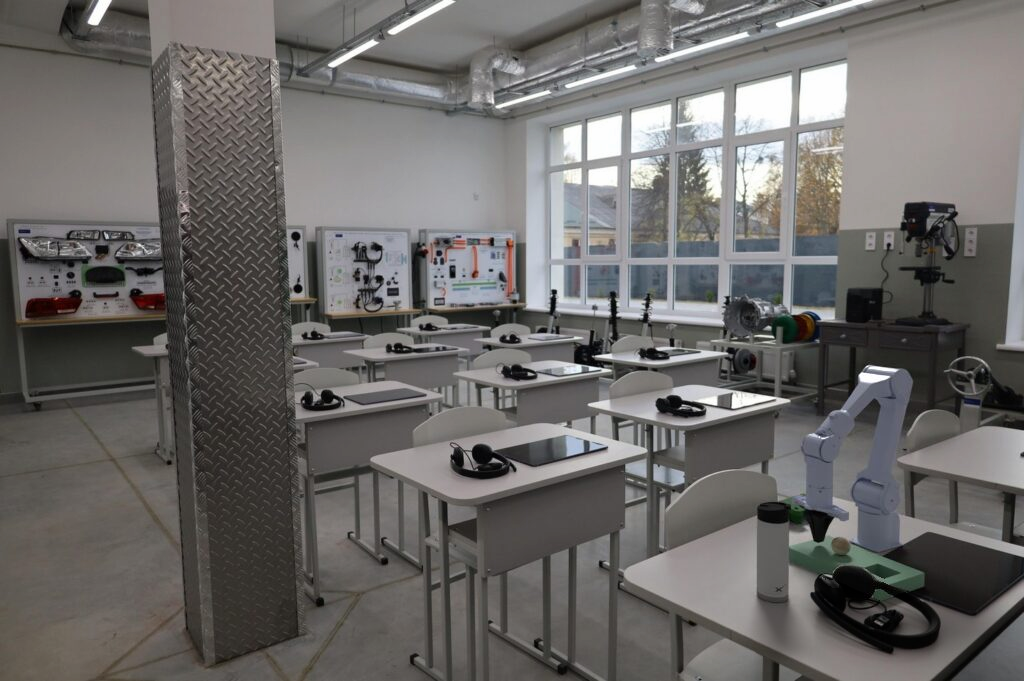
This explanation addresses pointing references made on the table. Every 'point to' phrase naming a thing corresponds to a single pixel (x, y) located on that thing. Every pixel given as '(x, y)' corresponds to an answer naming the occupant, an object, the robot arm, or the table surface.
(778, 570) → the travel mug
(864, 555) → the putting board
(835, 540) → the maple ball
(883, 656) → the table surface
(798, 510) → the clamp
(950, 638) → the table surface
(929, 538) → the table surface
